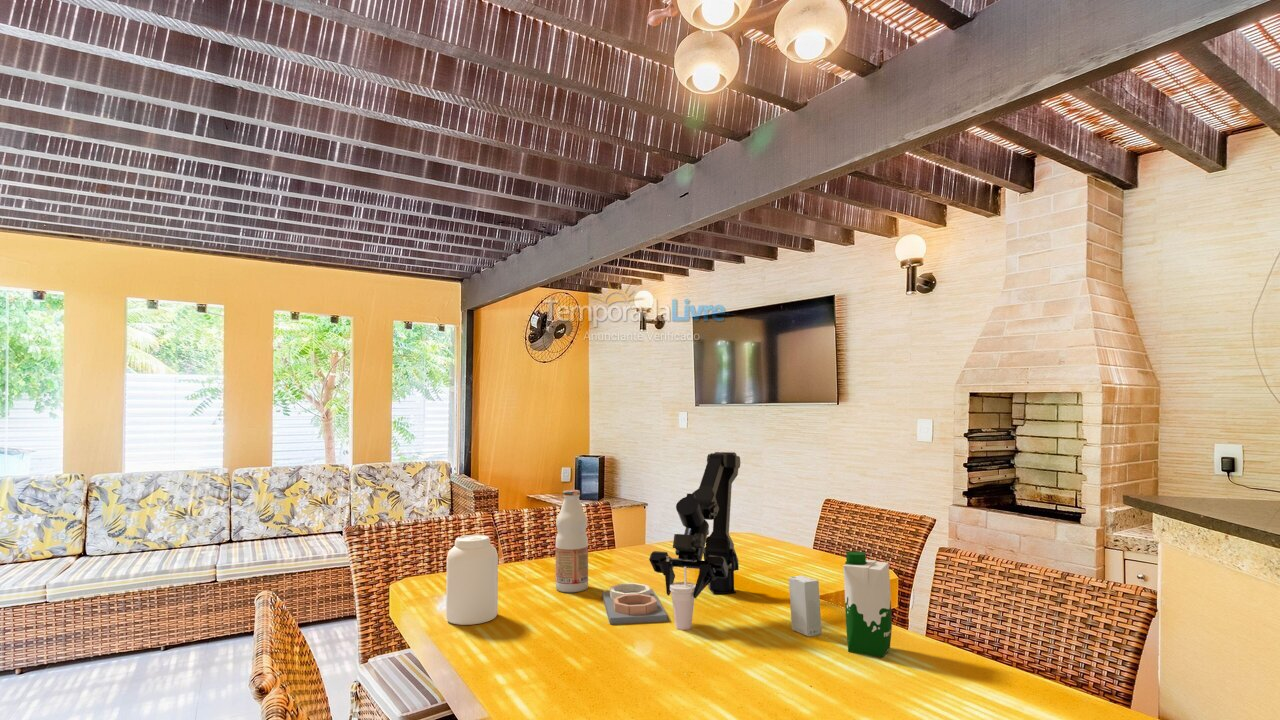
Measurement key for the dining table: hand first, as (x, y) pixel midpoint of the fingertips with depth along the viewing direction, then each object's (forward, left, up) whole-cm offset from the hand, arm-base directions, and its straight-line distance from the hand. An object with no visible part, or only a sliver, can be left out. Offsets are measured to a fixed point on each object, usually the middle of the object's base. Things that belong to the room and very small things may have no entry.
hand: (681, 595), depth 156 cm
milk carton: (-37, +20, -8) cm, 42 cm away
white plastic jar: (+50, -17, -8) cm, 53 cm away
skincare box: (-28, +7, -8) cm, 30 cm away
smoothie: (-1, -1, -8) cm, 8 cm away
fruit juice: (+24, -40, -8) cm, 48 cm away
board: (+9, -18, -8) cm, 22 cm away
